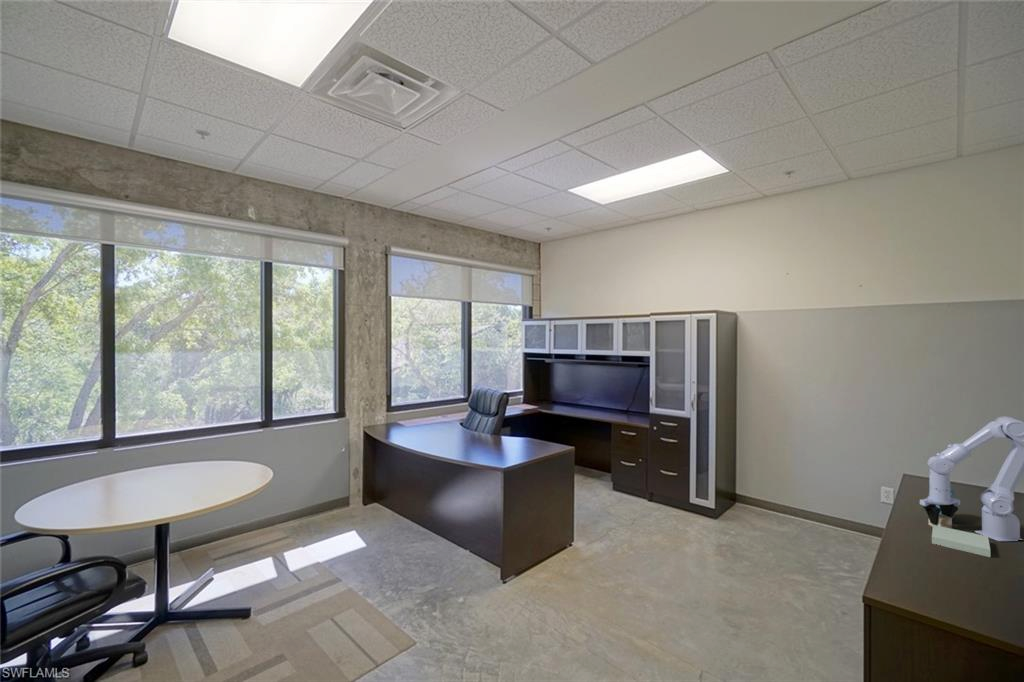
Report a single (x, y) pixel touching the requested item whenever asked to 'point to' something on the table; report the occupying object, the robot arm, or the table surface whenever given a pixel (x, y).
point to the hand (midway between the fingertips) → (940, 523)
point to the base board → (961, 540)
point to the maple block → (943, 521)
